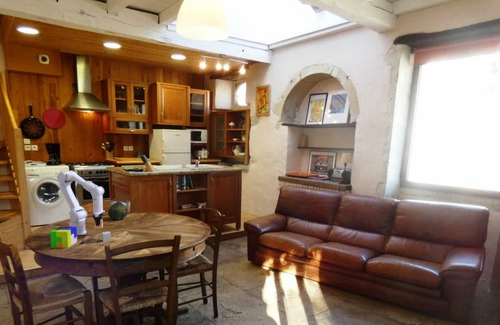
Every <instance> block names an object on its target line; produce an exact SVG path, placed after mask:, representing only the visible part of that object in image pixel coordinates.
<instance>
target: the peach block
mask: <svg viewBox="0 0 500 325" xmlns="http://www.w3.org/2000/svg"><path fill="white" fill-rule="evenodd" d="M103 220H104V219H101V221H100V226H96V224H95V220H93V222H94V224H93V226H94V229H95V230H96V229H103V227H104V223H103V222H104V221H103Z"/></svg>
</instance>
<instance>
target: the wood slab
mask: <svg viewBox="0 0 500 325" xmlns="http://www.w3.org/2000/svg"><path fill="white" fill-rule="evenodd" d="M98 240H99V234H93V235H86V236H85V237H84V239H83V244H84V243H86V244H95V243H97V242H98Z"/></svg>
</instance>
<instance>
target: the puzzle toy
mask: <svg viewBox="0 0 500 325" xmlns="http://www.w3.org/2000/svg"><path fill="white" fill-rule="evenodd" d="M76 243H78V235H77V227H69V226H59V227H57V228H55V229H53V230H50V247H51V249H56V248H57V249H59V248H60V249H64V248H65V249H66V248H67V249H68V248H70V247H72V246H73V245H75V244H76Z"/></svg>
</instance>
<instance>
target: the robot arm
mask: <svg viewBox="0 0 500 325" xmlns="http://www.w3.org/2000/svg"><path fill="white" fill-rule="evenodd" d="M56 180H57V181H58V185H59V189H60V190H61V193H62V194H63V196H64V199H65V200H66V203H67V204H68V206H69V209H70V210H69V213H68V214H69V219H70V221H69V223H68V227H77V236H81V235H82V236H84V235H86V234H87V231H88V230H86V220H87V217H88V211H86V210H85V208H84V207H83V206H80V204H79V202H78V200H77V198H76V196H75V194H74V192H73V190H72V188H71V186H70V185H71V184H72V183H73V182H76V183H77V184H78V185H81V186H82V188H83V189H84V190H86V191H87V192H89V193H90V194H91V196H92V207H93V208H92V209H93V211H92V213H93V215H92V218H93V221H95V224H96V226H100V221H101V219H102V218H103V215H104V213H105V210H104V208H103V207H104V206H103V205H104V204H103V201H104V200H103V197H104V196H103V195H104V193H105V189H104V187H103V186H98V185H97V184H95V183H94V182H92V180H91V181H90V180H85V179H84V178H83V177H81V176H80V175H78V173H77V172H75V171H74V170H67V171H59V173H58V174H57V175H56Z"/></svg>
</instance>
